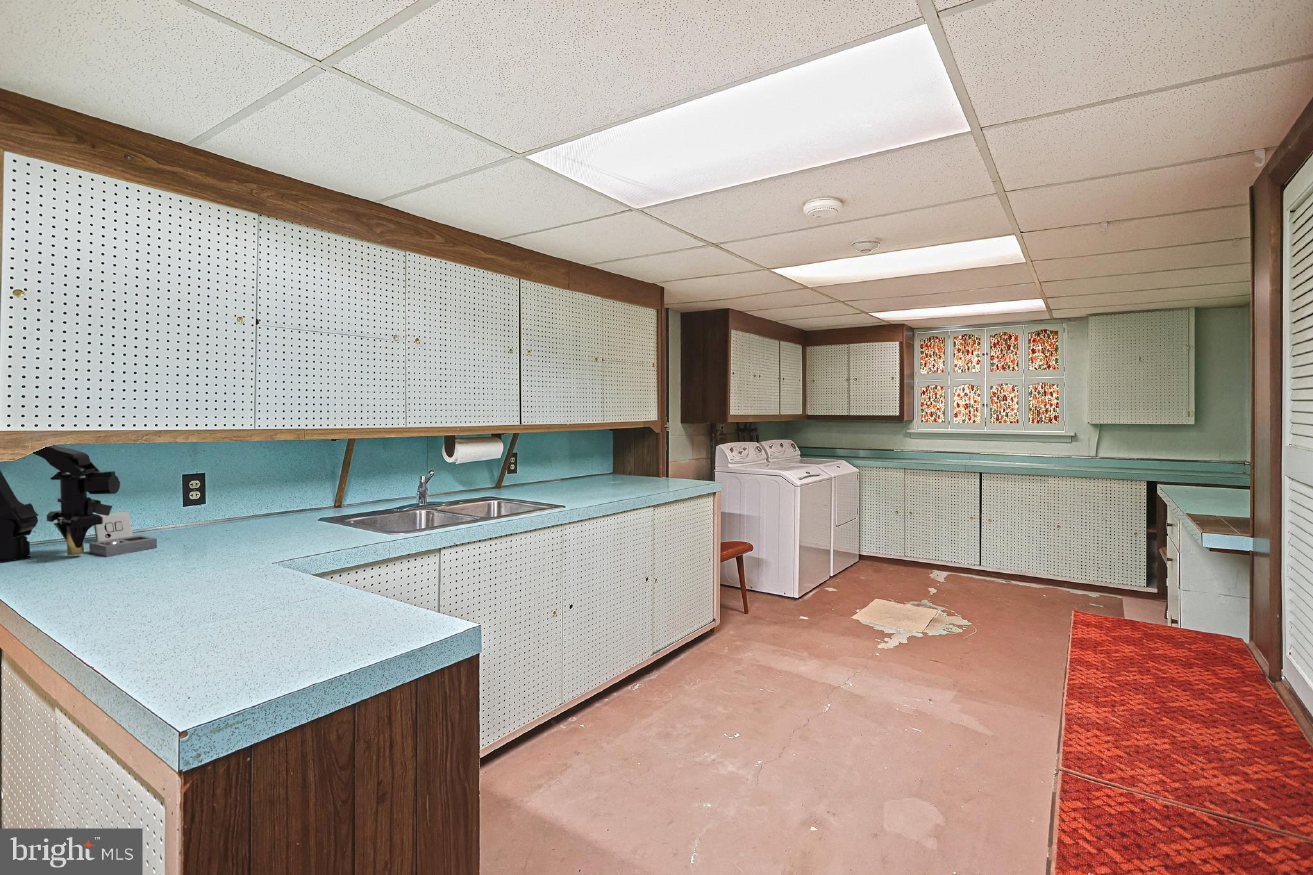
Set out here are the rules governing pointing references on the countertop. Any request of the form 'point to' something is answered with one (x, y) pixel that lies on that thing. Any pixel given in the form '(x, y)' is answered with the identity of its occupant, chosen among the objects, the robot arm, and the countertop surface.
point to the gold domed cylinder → (73, 547)
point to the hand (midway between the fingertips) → (75, 546)
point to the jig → (123, 546)
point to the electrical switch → (114, 527)
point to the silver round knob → (111, 542)
